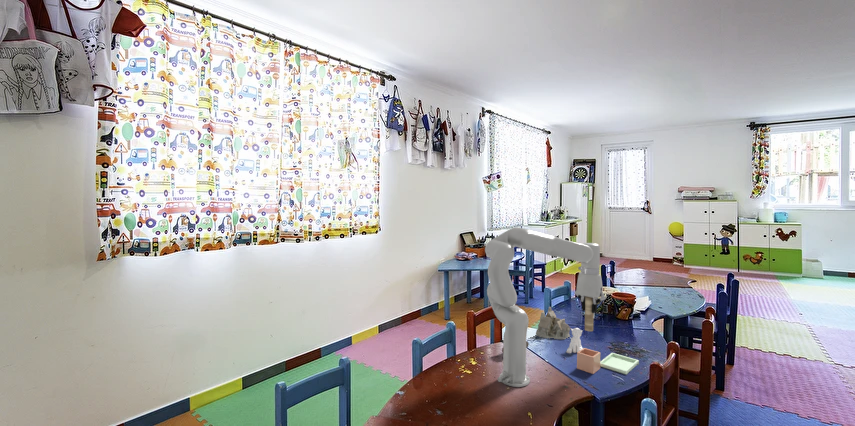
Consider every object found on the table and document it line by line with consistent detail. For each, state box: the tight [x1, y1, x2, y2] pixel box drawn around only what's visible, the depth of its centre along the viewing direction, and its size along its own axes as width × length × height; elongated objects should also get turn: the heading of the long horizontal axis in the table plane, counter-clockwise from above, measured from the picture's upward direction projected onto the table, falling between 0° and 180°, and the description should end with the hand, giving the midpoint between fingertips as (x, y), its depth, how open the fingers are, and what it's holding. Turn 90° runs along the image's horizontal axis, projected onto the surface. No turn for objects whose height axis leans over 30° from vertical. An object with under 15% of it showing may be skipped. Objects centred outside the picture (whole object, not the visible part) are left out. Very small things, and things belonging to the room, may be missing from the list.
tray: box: [600, 352, 640, 376], centre depth 176 cm, size 16×12×2 cm
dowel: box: [584, 296, 595, 333], centre depth 171 cm, size 4×4×15 cm
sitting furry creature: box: [565, 327, 584, 354], centre depth 191 cm, size 10×9×12 cm
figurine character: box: [499, 339, 529, 353], centre depth 191 cm, size 7×8×15 cm
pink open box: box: [576, 347, 601, 375], centre depth 172 cm, size 7×7×8 cm
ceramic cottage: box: [535, 306, 572, 340], centre depth 214 cm, size 16×16×15 cm
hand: (589, 311), depth 171 cm, fingers closed on dowel, 3 cm apart
